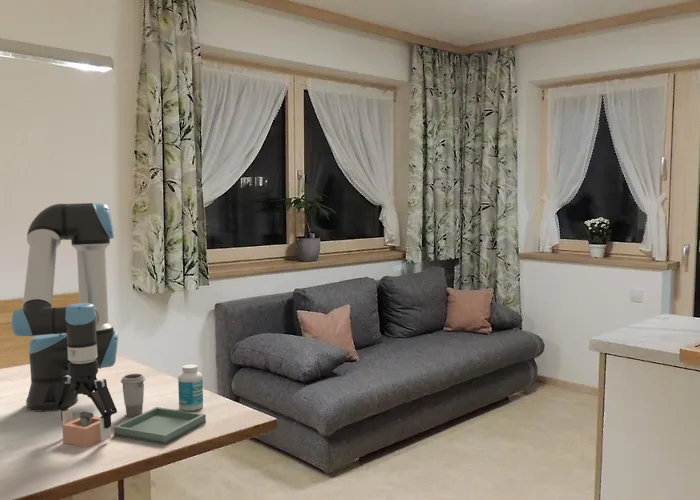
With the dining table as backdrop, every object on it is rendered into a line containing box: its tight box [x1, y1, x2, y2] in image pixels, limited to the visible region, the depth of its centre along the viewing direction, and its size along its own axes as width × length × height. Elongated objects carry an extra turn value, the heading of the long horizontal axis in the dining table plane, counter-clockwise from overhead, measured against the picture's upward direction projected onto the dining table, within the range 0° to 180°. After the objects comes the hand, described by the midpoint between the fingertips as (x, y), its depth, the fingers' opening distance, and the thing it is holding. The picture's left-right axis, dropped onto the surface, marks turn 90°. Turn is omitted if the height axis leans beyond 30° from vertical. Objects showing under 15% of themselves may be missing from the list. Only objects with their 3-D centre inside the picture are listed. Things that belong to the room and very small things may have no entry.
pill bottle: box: [177, 363, 204, 412], centre depth 201 cm, size 8×7×14 cm
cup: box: [120, 372, 146, 418], centre depth 196 cm, size 7×7×12 cm
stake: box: [79, 411, 94, 426], centre depth 176 cm, size 4×3×8 cm
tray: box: [113, 406, 207, 445], centre depth 184 cm, size 18×18×2 cm
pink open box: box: [62, 415, 102, 448], centre depth 177 cm, size 8×10×5 cm
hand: (86, 435), depth 177 cm, fingers open, 13 cm apart
